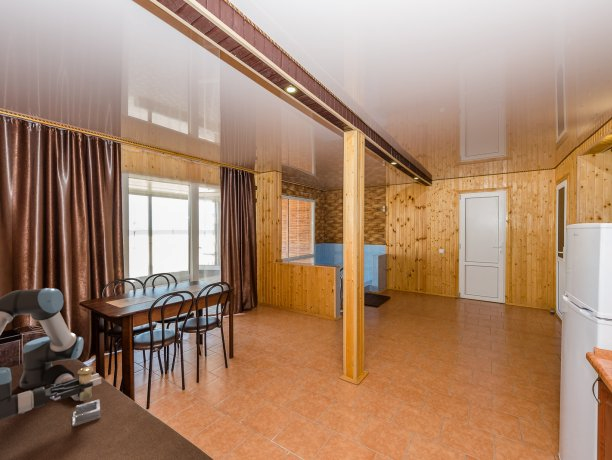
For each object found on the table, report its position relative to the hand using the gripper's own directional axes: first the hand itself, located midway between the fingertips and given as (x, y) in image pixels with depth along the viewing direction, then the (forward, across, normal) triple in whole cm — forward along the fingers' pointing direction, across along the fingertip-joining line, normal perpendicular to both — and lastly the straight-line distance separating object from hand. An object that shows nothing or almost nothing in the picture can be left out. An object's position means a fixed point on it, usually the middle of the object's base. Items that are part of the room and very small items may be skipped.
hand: (99, 378), depth 139 cm
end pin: (-5, 0, -7) cm, 9 cm away
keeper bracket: (-5, 0, -16) cm, 16 cm away
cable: (-8, -29, -16) cm, 34 cm away
